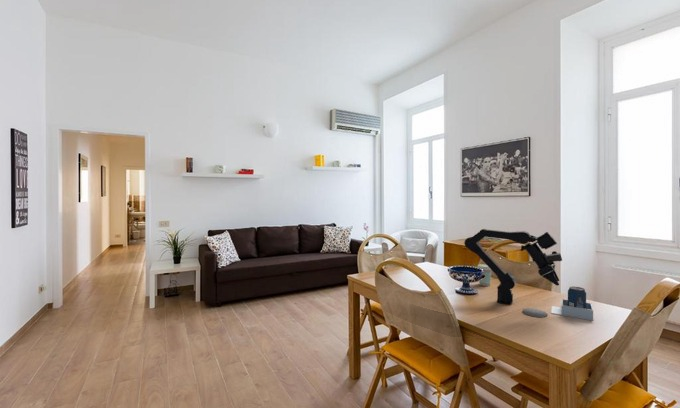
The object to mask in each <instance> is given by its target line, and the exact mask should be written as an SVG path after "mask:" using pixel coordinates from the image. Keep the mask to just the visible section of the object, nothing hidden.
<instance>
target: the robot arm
mask: <svg viewBox="0 0 680 408" xmlns="http://www.w3.org/2000/svg"><path fill="white" fill-rule="evenodd" d="M484 238H491V239H500V240H501V239H502V240H509V241H512V242H515V243H518V244H521V245H520V247H521V249H520V251H521V252H523V251H524V250H525V251H526V253H527V254H528V255H529V257H530V258H531V259H532V260H531V261H532V262H534V264H536V266H537V268H538V271H537V272H538V274H539V276H540V277H542V278H544V279H546V280H547V281H549V282H551V283H552V284H553V285H555V286H557V287H558V286H560V283H559V282H560V278H559V276H558V274H557V272H556V269H555V268H556V264H555V262H562V261H563V258H562V255H561V253H560V252H557V251H556V250H554V251H551V253H549V254H547V253H546V252H543V249H545V250H547V249H550V248H552V247H554V246H555V245H557V244H558V242H557V241H556V240H555V238H554V237H553V236H552V235H551V234H550V233H549V232H548V231H546V232H544V233H543V234H541V235H539V236H538V237H537V236H535V235H533V234H532V235H531V233H530V232H529V231H525V230H521V231H518V230H517V231H501V230H494V229H486V228H482V229H480V230H479V231H478V232H477V233H475V234H474V235H473V236H470V237H467V238H465V240H464V242H463V244H464V246H465V247H466V248H467V249H468V250H470V252H472V253H474V254H475V255H477V256H478V257H479V259H480V260H482V261H483V263H484V264H486V265H487V266H488V267H489V268H490V269H491V270H492V272H493V273H494V275H496V278H497V279H498V281H499V282H500V283H499V284H498V285H497V287H496V288H497V295H496V296H497V298H496V299H497V301H496V303H498V304H503V305H504V304H505V305H512V303H513V302H514V293H513V291H512V290H513V288H515V286H516V284H517V279H516V276H515V275H513V274H512V272H511V271H510V270H507V271H506V270H504V269H503V268H502V267H501V266H500V265H499V264H498V263H497V261H495V260H494V258H492V257H491V256H490V255H489V254H488V253H487V252H486V250H485V249H484V248H483V247H482V245H481V243H480V241H481V240H483V239H484ZM523 244H524V245H523Z"/></svg>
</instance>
